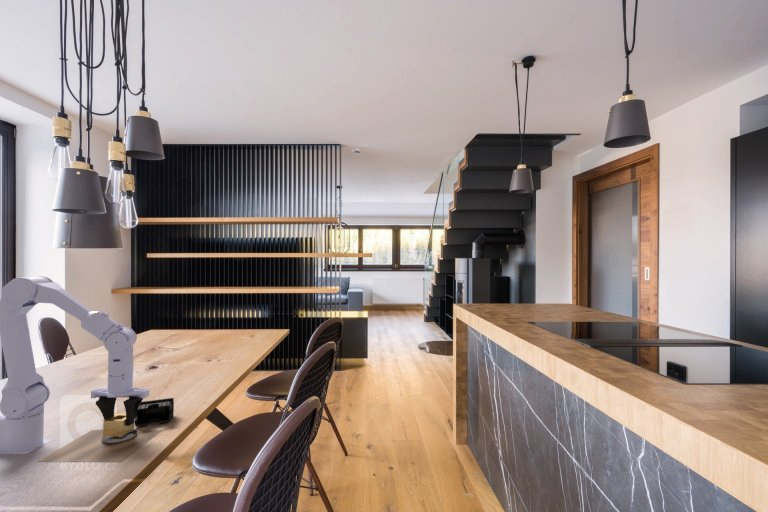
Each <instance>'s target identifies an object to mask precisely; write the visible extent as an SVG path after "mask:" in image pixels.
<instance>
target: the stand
mask: <svg viewBox="0 0 768 512" xmlns="http://www.w3.org/2000/svg"><path fill="white" fill-rule="evenodd" d="M137 430H138V429H135V428H134V429H133V430H131V431H130V432H128V433H127V434H125V435H124V436H103V437H102V441H101V442H102V443H103V444H119V443H123V442H126V441H129V440H131V439H133V438H135V437H136V436H137Z"/></svg>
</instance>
